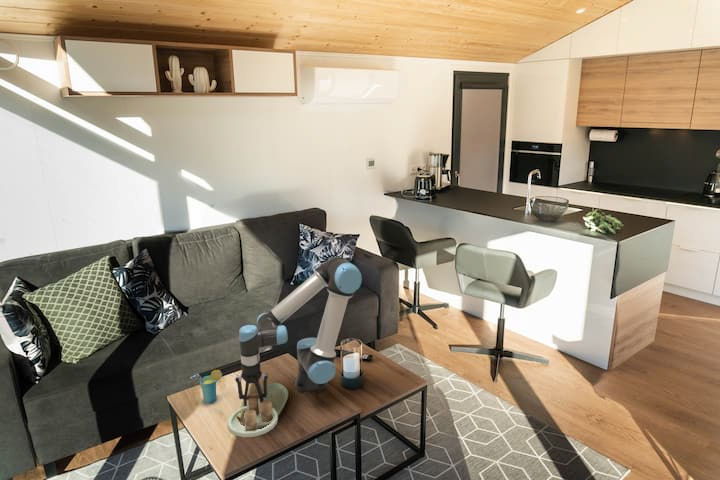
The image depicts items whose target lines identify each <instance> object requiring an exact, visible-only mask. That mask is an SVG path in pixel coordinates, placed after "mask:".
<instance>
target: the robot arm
mask: <svg viewBox="0 0 720 480" xmlns="http://www.w3.org/2000/svg"><path fill="white" fill-rule="evenodd" d="M362 279H363V278H362V273H361V271H360V269H359V268H358V267H357V266H356V265H355V264H353V263H351V262H350V261H349V260H347V259H346V258H345V257H341V256H335V257H330V258H328V259H327V260H325V261H324V262H323V263H321V264H320V265H319V266H317V268H316V269H314V270H313V274H311V276H309V278H307V279H306V280H304V281H303V282H302V283H301V284H300V285H299V286H297V287H296V288H295V289H294V290H293V291H291V292H290V294H288V295H287V296H286V297H284V299H282V300H281V301H280V302H279V303H278V304H276V305H275V306H274V307H273V308H272V309H271V310H269V311H268V312H262V313H261V314H259V315H258V316H257V318H256V325H257V326H256V325H253V324H247V325H243V326H242V327H240V328H239V330H238V342H239V349H240V350H239V351H240V363H241V365H240V366H241V374H240V375H236V376H235V379H234V380H235V382H236V384H237V390H238V391H237V393H238V399H240V400H243V403H244V404H243V405H244V406H243V407H245V406H247V410H249V402H248V398H247V397H248V396H249V395H248V393H249V386H250V384H254V386H255V389H256V390H257V391H256V392H257V394H258V396H259V398H258V407H259V413H261V406H260V404H261V402H263V401H264V398H265V399H266V398H267V396H268V376H269V373H263V372H262V371H261V361H260V360H261V359H260V349H262V348H266V347H272V346H279V345H282V344H286V343H287V342H288V337H289V336H288V329H287V327H286V326H285V325H282V323H283V322H284V321H286V320H287V319H288V318H289V317H291V316H292V315H293V314H295V312H296V311H298V310H299V309H300V308H301V307H302V306H304V304H306V303H307V302H308V301H309V300H311V299H312V298H313V297H314V296H315V295H317V294H318V293H319V292H320V291H322V289H324V288H325V287H326V290H327V292H328V298H327V300H326V304H325V308H324V312H323V315H322V317H321V318H322V319H321V322H320V327H319V330H318V332H317V337H305V338H301V339H300V340H299V341H297V342H296V343H297V344H296V352H297V353H296V354H297V355H296V356H297V370H298V371H297V375H296V377H295V381H294V386H295V389H296V390H297V392H300V393H307V394H308V393H315V394H317V393H321V392H323V391H324V390H326V388H327V387H328V382H330V381H331V380H332V379H333V378H334V377H335V374H336V371H337V370H336V369H337V368H336V365H335V360H336V356H337V353H336V351H335V347H336V344H337V340H338V336H339V334H340V330H341V328H342V327H341V326H342V323H343V319H344V315H345V312H346V308H347V306H348V301H349V300H350V299H351V298H352V297H353V296H354V294H355V293H356V291H357V290H359V288H360V287H361V285H362V281H363V280H362ZM242 379H243V381H244V382H245V386H244V387H245V388H244V392H243V386H242ZM261 379H262V381H263V383H262V384H263V387H261V384H260V380H261ZM262 388H263V390H262Z"/></svg>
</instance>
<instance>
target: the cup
mask: <svg viewBox="0 0 720 480" xmlns="http://www.w3.org/2000/svg"><path fill="white" fill-rule="evenodd" d="M196 377H198V379H199V385H200V386H201V392H202V397H203V400H204V404H206V405H211V404H214V403H216V402H217V383H218V382H217V381H220V380H222V377H223V373H222V372H221V370H219V369H215V370H213V371H211V373H210V375H204V376H202V377H201V375H200V374H198V373H196V374H194V375H193V376H190V377H189V379H190V380H192V379H194V378H196Z"/></svg>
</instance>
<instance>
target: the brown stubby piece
mask: <svg viewBox="0 0 720 480" xmlns="http://www.w3.org/2000/svg"><path fill="white" fill-rule="evenodd" d="M247 398H248V402H249V410H255V411H256V415H258V414H259V407H258V398H259V395H258V393H251V394H249V395H247Z"/></svg>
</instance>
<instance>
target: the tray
mask: <svg viewBox="0 0 720 480" xmlns="http://www.w3.org/2000/svg"><path fill="white" fill-rule="evenodd" d="M242 411H247V406H242V407H239V408H238V409H237V410H235V411H233V412H232V413H231V415H230V416H229V417H228V420H227V428H228V430H229V432H230V433H232V434H233V435H234V436H236V437H240V438H253V437H254V438H255V437H258V436H263V435H264V434H267V433H268V432H270V431H271V430H273V429H274V428H275V427H276V426H277V424H278V419H279V416H278V415H279V414H278V412H277V411H276V408H274V407H272V414H273V415H274V419H273V420H272V422H271V423H270V424H269V425H267V426H266V427H264V428H262V429H257V430H255V431H246V430H245V426H243V425H241V424H240V422H239V421H238V419H237V415H238V414H239V413H241V412H242ZM256 420H257V423H259V422H260V416H258V415H256Z"/></svg>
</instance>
